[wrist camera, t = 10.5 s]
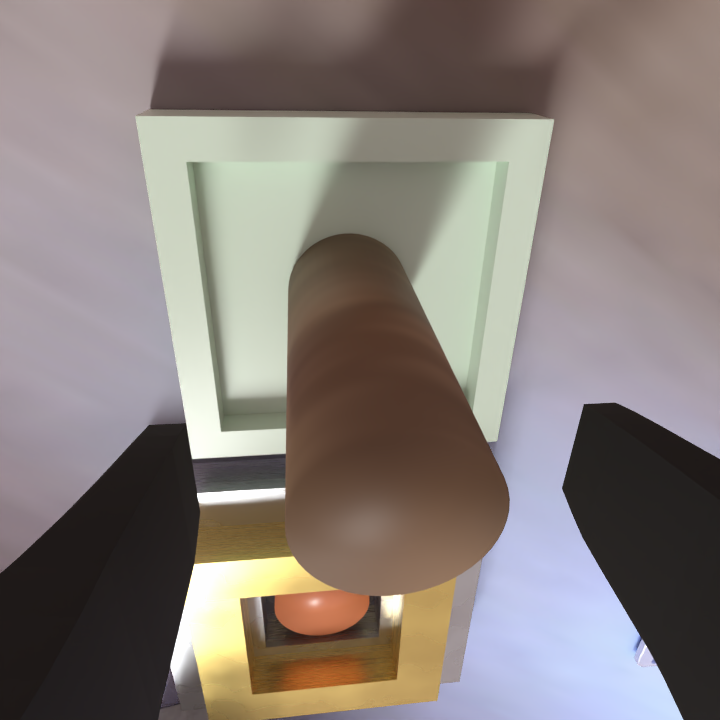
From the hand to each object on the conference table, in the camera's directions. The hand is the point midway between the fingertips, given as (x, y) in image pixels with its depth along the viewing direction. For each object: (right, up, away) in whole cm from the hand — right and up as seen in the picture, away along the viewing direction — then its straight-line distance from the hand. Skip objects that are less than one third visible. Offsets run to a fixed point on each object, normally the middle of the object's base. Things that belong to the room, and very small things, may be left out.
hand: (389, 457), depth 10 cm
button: (-2, -7, +12) cm, 14 cm away
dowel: (-1, +4, +6) cm, 7 cm away
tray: (-1, +4, +7) cm, 8 cm away
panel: (-2, -7, +13) cm, 14 cm away
